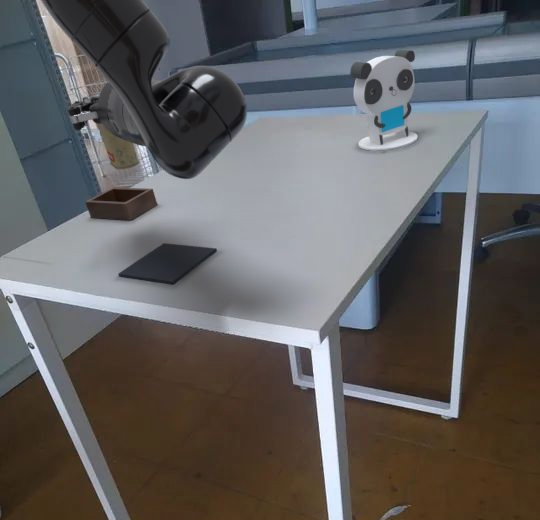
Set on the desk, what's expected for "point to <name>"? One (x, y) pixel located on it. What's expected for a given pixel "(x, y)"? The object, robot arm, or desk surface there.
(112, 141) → the lighter
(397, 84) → the panda figurine
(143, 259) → the mat
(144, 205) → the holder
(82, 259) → the desk surface
